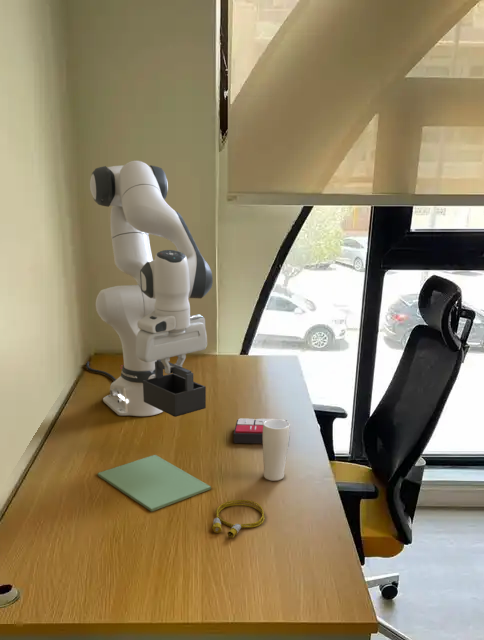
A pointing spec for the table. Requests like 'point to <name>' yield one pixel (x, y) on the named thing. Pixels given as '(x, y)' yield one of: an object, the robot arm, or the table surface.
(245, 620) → the table surface
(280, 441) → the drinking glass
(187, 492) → the desk mat
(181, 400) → the caddy bin
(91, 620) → the table surface
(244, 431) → the calculator
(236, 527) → the extension cord
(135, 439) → the table surface
